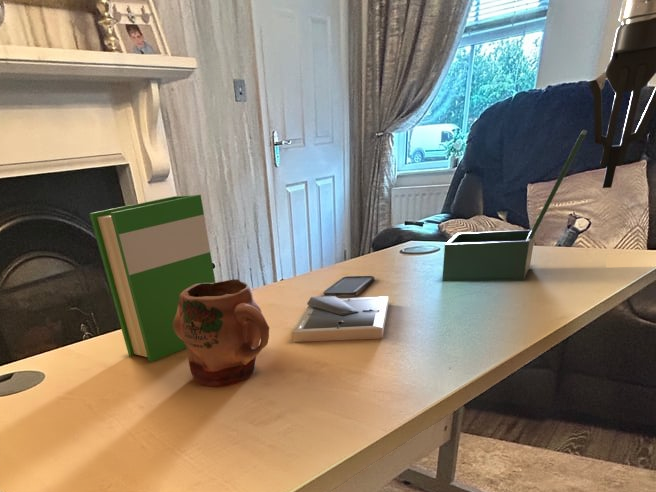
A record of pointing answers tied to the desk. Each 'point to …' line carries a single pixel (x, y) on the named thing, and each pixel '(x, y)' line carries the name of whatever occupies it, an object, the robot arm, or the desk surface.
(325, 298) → the picture frame
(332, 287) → the phone
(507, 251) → the box
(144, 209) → the hardback book
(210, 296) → the terracotta mug
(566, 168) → the lid
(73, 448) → the desk surface
